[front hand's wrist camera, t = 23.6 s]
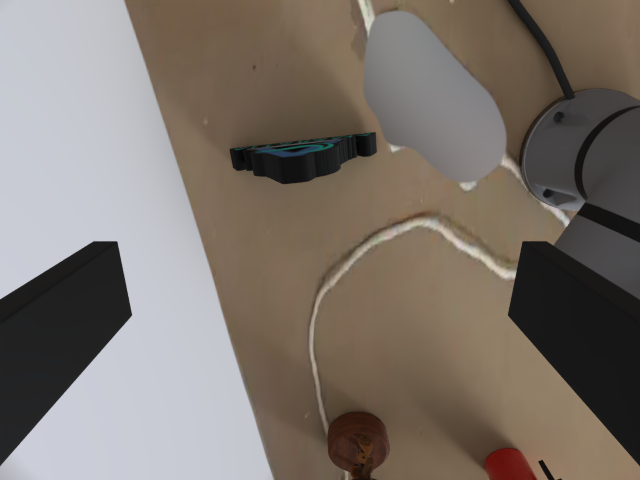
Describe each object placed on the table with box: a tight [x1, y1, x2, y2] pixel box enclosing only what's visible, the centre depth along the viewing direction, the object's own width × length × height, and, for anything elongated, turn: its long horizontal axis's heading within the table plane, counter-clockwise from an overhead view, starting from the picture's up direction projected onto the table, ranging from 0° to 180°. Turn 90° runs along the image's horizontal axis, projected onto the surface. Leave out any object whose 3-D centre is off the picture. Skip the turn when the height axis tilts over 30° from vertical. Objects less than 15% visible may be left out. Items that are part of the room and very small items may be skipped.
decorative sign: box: [230, 132, 377, 184], centre depth 42 cm, size 19×2×15 cm, turn 96°
